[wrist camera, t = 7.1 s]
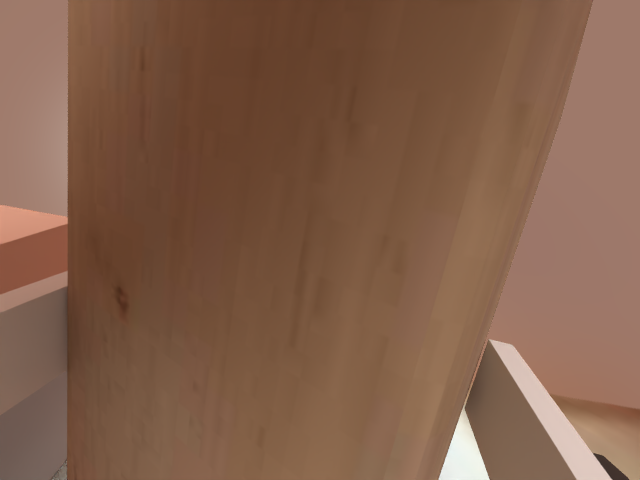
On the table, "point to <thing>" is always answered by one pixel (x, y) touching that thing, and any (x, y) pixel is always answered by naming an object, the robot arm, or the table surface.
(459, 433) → the table surface
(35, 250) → the tower top
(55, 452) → the tower base
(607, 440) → the table surface
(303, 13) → the wooden block
